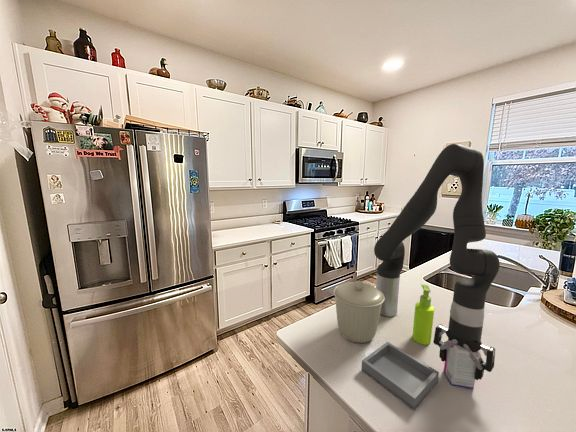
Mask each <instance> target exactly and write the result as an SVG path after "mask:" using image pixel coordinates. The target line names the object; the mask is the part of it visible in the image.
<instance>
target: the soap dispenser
mask: <svg viewBox="0 0 576 432" xmlns="http://www.w3.org/2000/svg"><path fill="white" fill-rule="evenodd" d="M420 286H421V287H422V290H423V293H422V295H420V297H419V301H417V302H416V303H415V305H414V316H413V325H412V326H413V327H412V335H411V336H412V339H413V340H414V341H415V342H416V343H418V344H420V345H424V346H425V345H430V344H431V341H432V333H433V325H434V324H433V323H434V316H435V314H434V313H435V307H434V306H433V305H432V303H431V302H432V297H431V296H430V293H431V289H430V287H429V285H427V284H421V285H420Z"/></svg>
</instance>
